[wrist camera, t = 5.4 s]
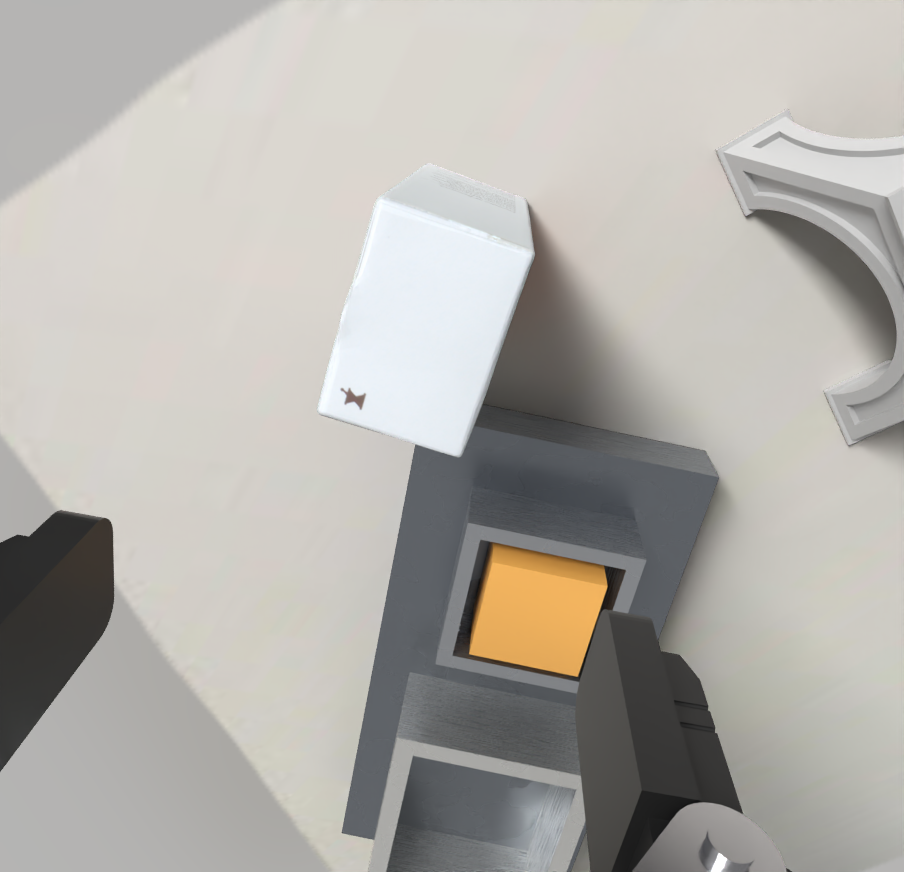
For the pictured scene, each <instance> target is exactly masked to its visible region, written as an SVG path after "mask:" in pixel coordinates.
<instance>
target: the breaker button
mask: <svg viewBox="0 0 904 872" xmlns="http://www.w3.org/2000/svg"><path fill="white" fill-rule="evenodd" d="M607 587H608V586H607V580H606V574H605V569H604V565H600V564H595V563H591V562H586V561H581V560H576V559H571V558H567V557H562V556H557V555H552V554H547V553H543V552H538V551H533V550H528V549H523V548H519V547H514V546H509V545H504V544H500V543H495V542H490V544H489V548H488V552H487V556H486V560H485V564H484V568H483V572H482V576H481V580H480V584H479V588H478V592H477V596H476V600H475V604H474V608H473V618H472V629H471V640H470V650H469V654H471V655H475V656H480V657H485V658H490V659H495V660H499V661H504V662H509V663H514V664H519V665H523V666H528V667H533V668H538V669H543V670H548V671H552V672H557V673H562V674H567V675H572V676H576V677H578V674H579V671H580V668H581V665H582V662H583V659H584V656H585V653H586V650H587V647H588V644H589V641H590V638H591V635H592V632H593V629H594V626H595V623H596V620H597V617H598V614H599V611H600V608H601V605H602V602H603V599H604V596H605V593H606V590H607Z"/></svg>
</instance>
